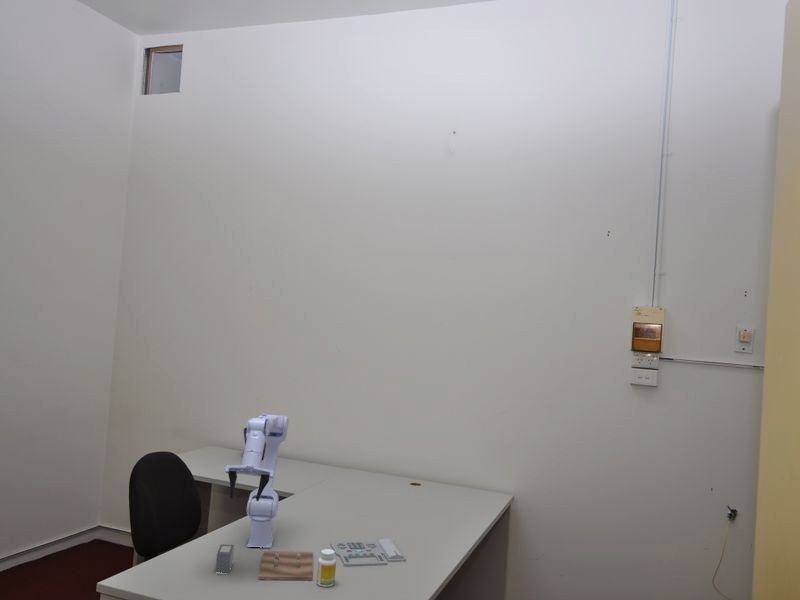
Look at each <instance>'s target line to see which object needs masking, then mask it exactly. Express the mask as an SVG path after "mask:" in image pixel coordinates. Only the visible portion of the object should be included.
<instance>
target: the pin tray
mask: <svg viewBox="0 0 800 600" xmlns="http://www.w3.org/2000/svg"><path fill="white" fill-rule="evenodd" d="M313 558H314V552H313V551H281V550H279V551H276V550H272V551H271V550H264V551H263V554H262V558H261V564H260V566H259V573H258V576H257V580H258V579H280V580H279V581H307V580H308V581H311V582H312V581H313V573H314V572H313V570H314V569H313V566H314V565H313V563H314V559H313ZM281 579H282V580H281Z"/></svg>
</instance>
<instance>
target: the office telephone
mask: <svg viewBox="0 0 800 600" xmlns="http://www.w3.org/2000/svg"><path fill="white" fill-rule="evenodd" d="M329 544H330V547H331V549H332V550H334V551H335V555H334V556H336V557H339V560H341V562H342V564H343V567H345V568H352V567H354V568H355V567H374V566H387V565H388V562H389V563H399V562H401V561H403V562H406V561H407V559H406V556H405V555H404V553H403V552H402V550H401V549H400V547H399V546H398V544H397V543H396V541H395V540H391V539H390V538H382V539H379V540H367V541H362V540H361V541H330V543H329ZM360 558H375V559H376V560H377V561H362V562H360V561H359V562H358V561H357V562H351V560H350V559H360Z"/></svg>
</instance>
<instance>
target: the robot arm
mask: <svg viewBox="0 0 800 600" xmlns="http://www.w3.org/2000/svg"><path fill="white" fill-rule="evenodd" d="M246 428H247V433H246V445H245V444H244V445H245V446H244V450H243V456H242V461H241V464H240V465H237V464H236V465H235V464H234V465H232V464H231V465H230V464H229V465H228V464H226V465H225V468H224V469H225V470H224V473H225V474H228V479H229V485H230V495H229V498H230V499H233V498H234V495H235V487H236V483H237V478H238V475H245V476H255V477H260V478H259V479H260V480H259V485H258V487H257V488H255V489H254V490H253V491H251V492H250V493H249V497H248V500H247V505H246V514H247V516H248V517H249V519H250V530H249V537H248V538H249V539H248V542H247V545H246V547H247V548H248V547H260V548H261V549H271V548H272V545H273V541H274V536H272V529H273V519H275V518H276V517H277V515H278V510H279V500H280V499H279V497H280V496H279V495H278V493H277V492H276V491H275V490H274V489H273V485H274V480H275V472H276V466H277V462H278V453H279V448H280V446H281V443H283V442H285V441H286V439H287V436H288V429H289V417H288V416H287V415H279V414H267V413H261V415H258V417H252V418H250V419H248V421H247V424H246ZM265 442H266V449H265V455H264V459H263V460H262V455H263V449H264V444H265ZM262 461H263V462H262ZM261 465H262V467H261ZM248 545H249V546H248ZM262 547H263V548H262ZM260 548H259V549H260Z"/></svg>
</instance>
